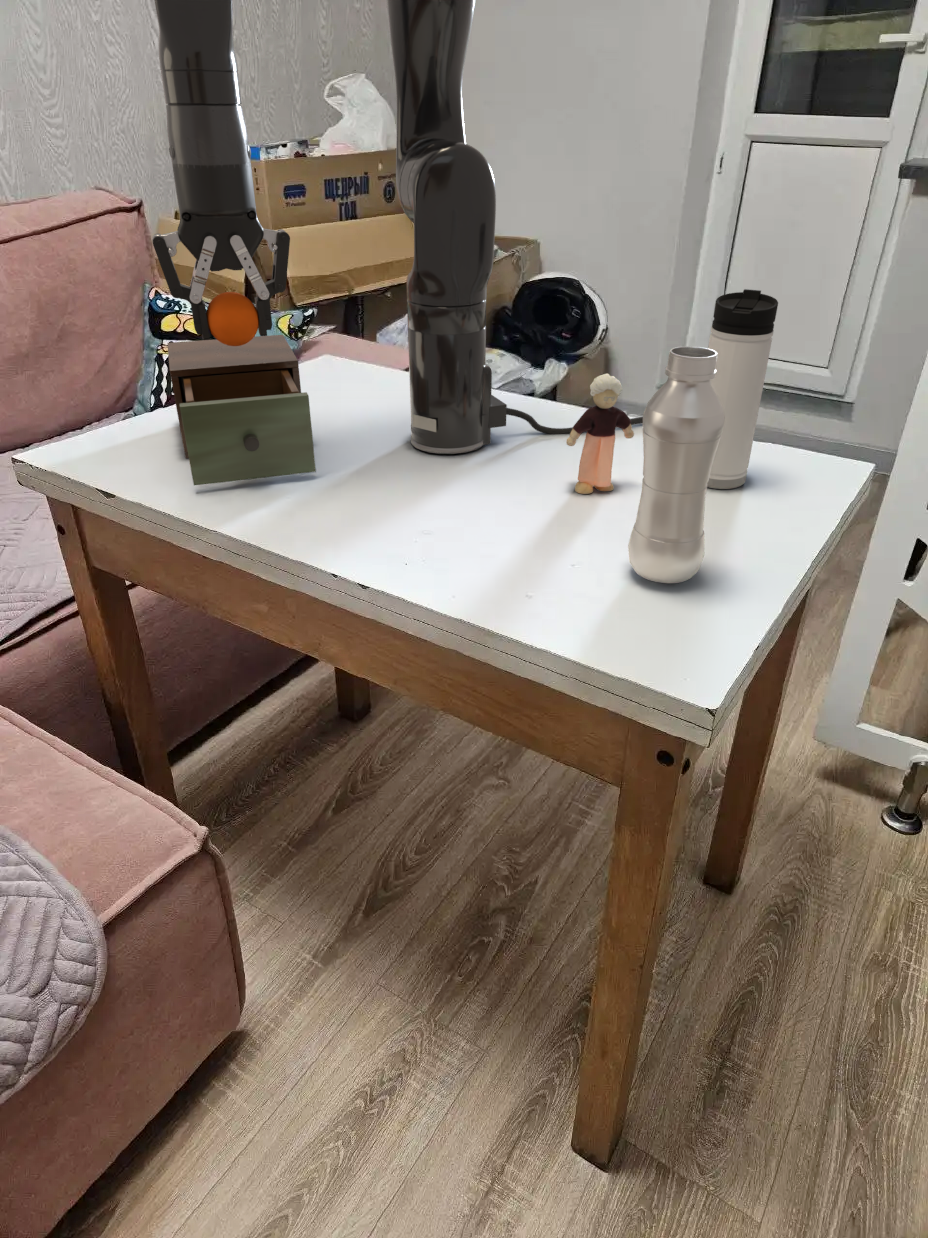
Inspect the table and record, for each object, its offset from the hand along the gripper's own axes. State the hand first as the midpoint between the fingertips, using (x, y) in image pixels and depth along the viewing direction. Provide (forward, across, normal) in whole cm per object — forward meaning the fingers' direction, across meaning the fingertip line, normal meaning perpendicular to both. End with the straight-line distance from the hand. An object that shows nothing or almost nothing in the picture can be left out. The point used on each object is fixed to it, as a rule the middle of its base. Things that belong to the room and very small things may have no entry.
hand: (234, 335), depth 91 cm
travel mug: (+15, -50, +20) cm, 56 cm away
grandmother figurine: (+15, -36, +18) cm, 43 cm away
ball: (+1, 0, 0) cm, 1 cm away
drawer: (+14, 0, 0) cm, 14 cm away
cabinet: (+15, 0, -12) cm, 19 cm away
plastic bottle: (+15, -33, +38) cm, 53 cm away
